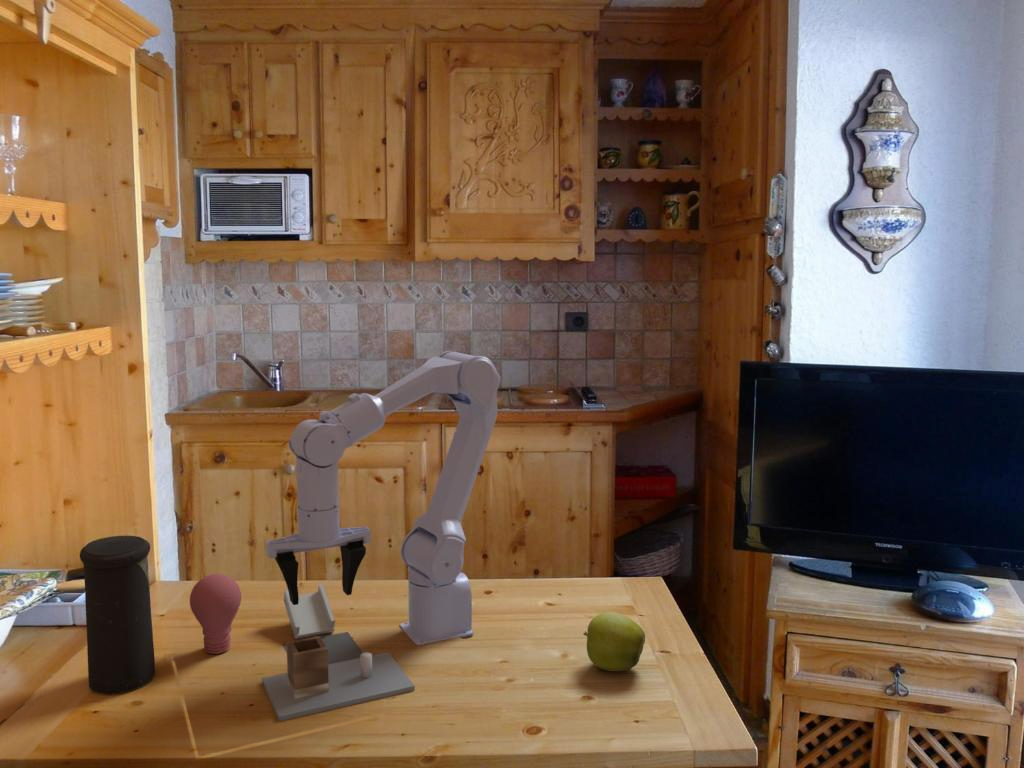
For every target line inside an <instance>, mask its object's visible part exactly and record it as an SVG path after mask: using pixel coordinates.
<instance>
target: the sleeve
mask: <svg viewBox="0 0 1024 768" xmlns="http://www.w3.org/2000/svg"><path fill="white" fill-rule="evenodd" d="M320 637H321V636H320V635H314V636H309V637H303V638H298V639H294V640H290V641H286V643H287V652H286V666H287V667H286V668H287V672H286V673H288V685H289V687H290V689H291V691H292V693H293V695H294V697H295V699H297V698H302V697H306V696H311V695H315V694H320V693H324V692H329V679H328V648H327V647H326V645H325V644H324V642H323V641H322V639H321V638H320Z"/></svg>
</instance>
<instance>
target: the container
mask: <svg viewBox="0 0 1024 768" xmlns="http://www.w3.org/2000/svg"><path fill="white" fill-rule="evenodd" d="M150 552H151V544H150V542H149V541H148V540H146V539H145V538H143V537H142V536H137V535H115V536H114V535H113V536H106V537H102V538H99V539H95V540H92V541H90V542H88V543H87V544H86V545H84V546H83V547H82V549H80V551H79V560H80V561H81V563H82V564H83V575H84V576H83V578H84V592H85V593H84V596H85V601H84V602H85V621H86V622H85V623H86V642H87V643H86V646H87V647H86V649H87V675H88V676H87V677H88V687H89V689H90V690H91V691H92V692H94V693H97V694H99V695H120V694H124V693H129V692H131V691H134V690H137V689H139V688H142V687H144V686H145V685H147V684H149V682H151V681H152V680H153V679H154V677H155V675H156V664H155V663H156V659H155V646H154V634H153V633H154V631H153V619H152V607H151V605H152V604H151V591H150V577H149V562H148V561H149V560H148V556H149V553H150Z"/></svg>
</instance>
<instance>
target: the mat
mask: <svg viewBox="0 0 1024 768" xmlns="http://www.w3.org/2000/svg"><path fill="white" fill-rule="evenodd" d="M320 638H321V639H322V641H323V642H324V644H325V645H326V647H327V648H328V664H333V663H338V662H343V661H348V660H353V659H358V658H360V655H361V654H362V653H364V652H363V651H362V649H361V648H360V647H359V645H358V644H357V642H356V641H355V640H354V638H353V637H352V636H351V635H350V633H349V631H345V632H339V633H335V634H330V635H325V636H320ZM282 646H283V648H284V650H285V651H286V653H287V642H286V643H283V644H282Z"/></svg>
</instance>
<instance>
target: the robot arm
mask: <svg viewBox="0 0 1024 768" xmlns="http://www.w3.org/2000/svg"><path fill="white" fill-rule="evenodd" d="M501 380H502V378H501V376H500V374H499V372H498V370H497V368H496V366H495V365H494V363H493V362H492V360H491V359H489V358H487V357H486V356H482V355H471V354H466V353H461V352H459V351H455V350H446V351H443V352H441V353H440V354H439V355H437V356H433V357H431V358H429V359H428V360H427V361H426V362H424V363H423V364H422V365H421V366H419V367H418V368H416V369H415V370H413V371H411V372H409V374H406V375H405V376H404V377H402V378H401V379H399V380H397V381H396V382H395V383H393V384H391V385H389V386H388V387H386V388H385V389H383V390H381V391H380V392H379V393H377V394H375V395H371V394H369V393H367V392H366V393H365V392H362V393H360V394H358V393H356V392H354V393H351V394H350V395H348V396H347V399H348V400H347V401H346V402H344V403H342V404H340V405H338V406H337V407H335V408H333V409H331V410H329V411H327V410H324V411H322V412H320V413H319V417H318V420H317V419H314V418H313V419H311V418H310V419H305V420H302V421H301V422H300V423H298V424H297V425H296V426H295V429H294V430H292V433H291V435H290V436H291V437H290V439H289V440H288V441H287V444H288V447H289V449H290V452H291V453H292V454H293V455H294V456H295V457H296V458H295V462H296V465H295V466H296V475H295V476H296V500H297V501H296V503H297V529H298V530H297V531H298V533H294V534H291V535H287V536H283V537H281V538H276V539H272V540H266V541H265V552H266V553H265V555H266V556H267V557H268V559H270V560H271V559H274V560H275V562H276V564H277V566H278V567H279V569H280V571H281V573H282V576H283V578H284V582H285V584H286V587H287V588H286V589H288V591H289V596H290V601H291V602H292V604H293V605H297V604H298V603H299V596H298V595H299V589H298V588H299V587H298V577H299V576H298V573H299V562H298V560H296V558H297V557H296V555H294V554H297V553H303V552H311V551H316V550H322V549H329V548H330V549H331V548H335V547H339V549H340V556H341V564H342V565H341V566H342V567H341V568H342V574H341V575H342V576H341V577H342V579H341V580H342V581H341V582H342V584H341V585H342V586H341V587H342V591H343V593H344V594H345V595H346V596H351V595H352V594H353V593H352V592H353V587H354V583H355V579H356V576H357V573H358V570H359V568H360V566H361V564H362V562H363V559H364V558H365V556H366V553H367V548H366V546H365V544H371V542H372V535H371V533H372V532H371V529H370V528H369V527H368V526H359V527H358V526H357V527H340V526H341V525H340V498H339V497H340V495H339V492H340V491H339V465H338V462H339V461H340V460H341V458H342V457H343V455H344V453H345V450H346V449H348V448H350V447H352V446H353V445H355V444H356V443H359V442H360V441H362V440H363V439H365V438H367V437H369V436H370V435H372V434H374V433H376V432H377V431H379V430H380V429H382V428H383V427H384V425H385V423H386V419H387V417H388V415H391V414H392V413H395V412H397V411H398V410H400V409H402V408H404V407H406V406H408V405H410V404H413V403H415V402H416V401H418V400H420V399H423V397H426V396H428V395H430V394H433V393H439V394H445V395H446V396H447V397H448V398H449V399H450V400H451V401H452V403H453V405H454V407H455V409H456V411H457V413H458V415H459V420H458V422H457V424H456V428H455V431H454V434H453V436H452V440H451V443H450V445H449V448H448V451H447V455H446V457H445V458H444V459H445V460H444V463H443V465H442V468H441V470H440V474H439V476H438V480H437V481H436V482H437V483H436V486H435V488H434V492H433V494H432V497H431V500H430V503H429V505H428V509H427V511H426V512H425V513H423V514H421V515H420V516H419V517H418V518H416V519H415V521H414V524H413V526H412V528H411V530H410V532H409V533H408V534H407V535H406V536H405V537H404V539H403V540H402V542H401V544H400V545H401V546H400V557H401V560H402V561H403V563H404V564H405V565H407V567H408V568H407V571H408V572H407V573H408V577H407V579H408V583H407V585H408V587H407V588H408V589H407V590H408V621H405V622H401V623H400V624H399V627H400V628H401V629H402V630H403V631H404V633H405V634H406V635H407V637H409V638H410V640H411V641H412V642H413V643H414V644H415V645H417V646H422V645H427V644H431V643H436V642H437V643H438V642H440V641H441V642H442V641H446V640H450V639H451V640H452V639H455V638H465V637H470V636H473V635H474V630H472V628H473V626H472V625H473V624H472V621H473V620H472V619H473V618H472V617H473V616H472V615H473V614H472V612H473V611H472V609H473V608H472V607H473V605H472V604H473V603H472V602H473V601H472V600H473V597H472V596H473V594H472V587H471V583H470V581H469V578H468V576H467V575H466V574H465V573H464V572H462V570H463V567H464V562H465V561H464V560H465V559H464V548H465V544H466V542H467V539H466V536H465V533H464V530H463V527H462V521H463V517H464V515H465V512H466V509H467V505H468V503H469V499H470V496H471V494H472V491H473V489H474V485H475V482H476V480H477V477H478V474H479V471H480V469H481V466H482V465H481V464H482V462H483V460H484V456H485V455H486V454H485V453H486V450H487V448H488V446H489V442H490V439H491V437H492V436H491V435H492V433H493V430H494V427H495V423H496V421H497V418H498V413H499V412H498V411H499V410H498V389H499V387H500V383H501Z"/></svg>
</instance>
